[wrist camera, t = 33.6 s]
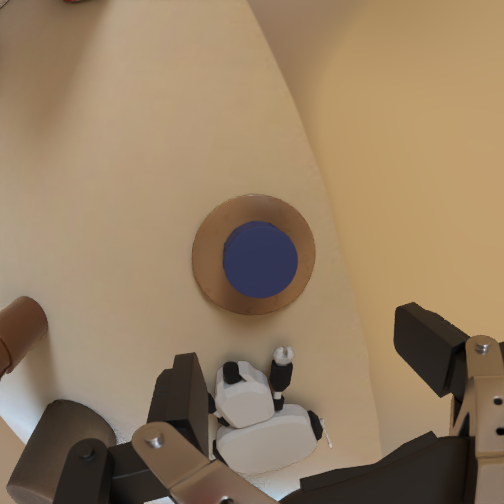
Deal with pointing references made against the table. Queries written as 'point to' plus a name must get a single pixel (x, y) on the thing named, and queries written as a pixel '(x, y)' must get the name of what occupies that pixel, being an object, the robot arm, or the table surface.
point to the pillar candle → (54, 450)
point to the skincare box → (2, 2)
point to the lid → (259, 259)
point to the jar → (19, 331)
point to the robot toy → (261, 418)
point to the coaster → (218, 230)
